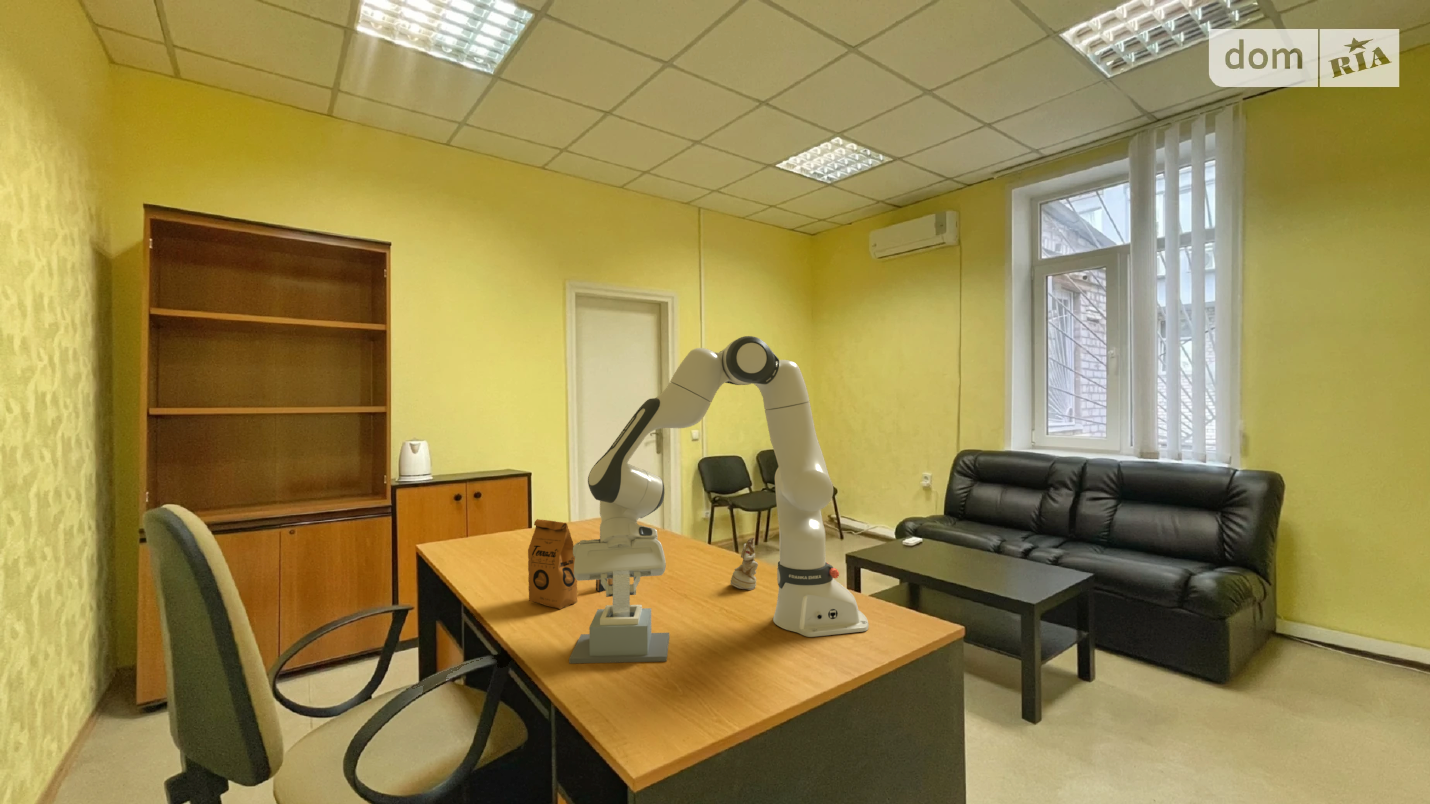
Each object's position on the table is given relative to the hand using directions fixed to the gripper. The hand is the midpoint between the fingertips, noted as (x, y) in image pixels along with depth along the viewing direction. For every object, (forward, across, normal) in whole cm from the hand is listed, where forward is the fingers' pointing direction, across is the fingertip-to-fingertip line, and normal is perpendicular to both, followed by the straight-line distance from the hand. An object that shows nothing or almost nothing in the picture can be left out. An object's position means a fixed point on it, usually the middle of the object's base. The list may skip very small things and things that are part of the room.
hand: (621, 594), depth 122 cm
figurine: (-16, +37, +33) cm, 52 cm away
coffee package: (-15, -16, +32) cm, 39 cm away
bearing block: (+8, 0, +9) cm, 12 cm away
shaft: (+4, 0, +5) cm, 6 cm away
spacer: (+3, 0, +4) cm, 5 cm away
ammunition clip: (-22, 0, +39) cm, 45 cm away
